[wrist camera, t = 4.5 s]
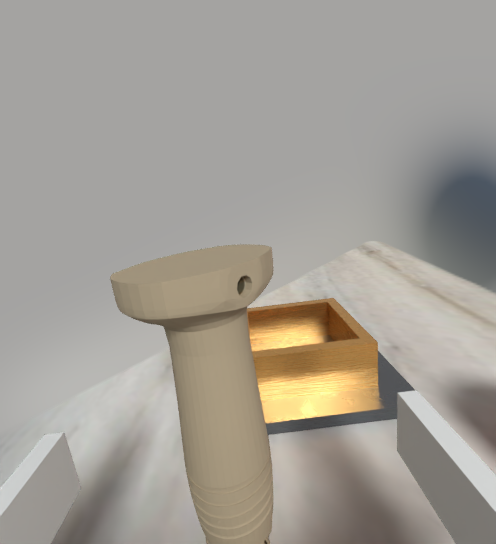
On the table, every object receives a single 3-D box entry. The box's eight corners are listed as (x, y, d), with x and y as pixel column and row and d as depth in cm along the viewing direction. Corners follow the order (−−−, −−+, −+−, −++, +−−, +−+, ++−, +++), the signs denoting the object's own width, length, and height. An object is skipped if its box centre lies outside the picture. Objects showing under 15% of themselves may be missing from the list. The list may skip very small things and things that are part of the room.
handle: (163, 568, 15) (89, 275, 11) (249, 473, 19) (216, 243, 16) (231, 663, 11) (159, 290, 8) (315, 521, 16) (294, 245, 12)
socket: (214, 441, 22) (204, 382, 21) (223, 341, 38) (218, 304, 36) (427, 414, 22) (428, 354, 21) (348, 326, 38) (347, 289, 36)
